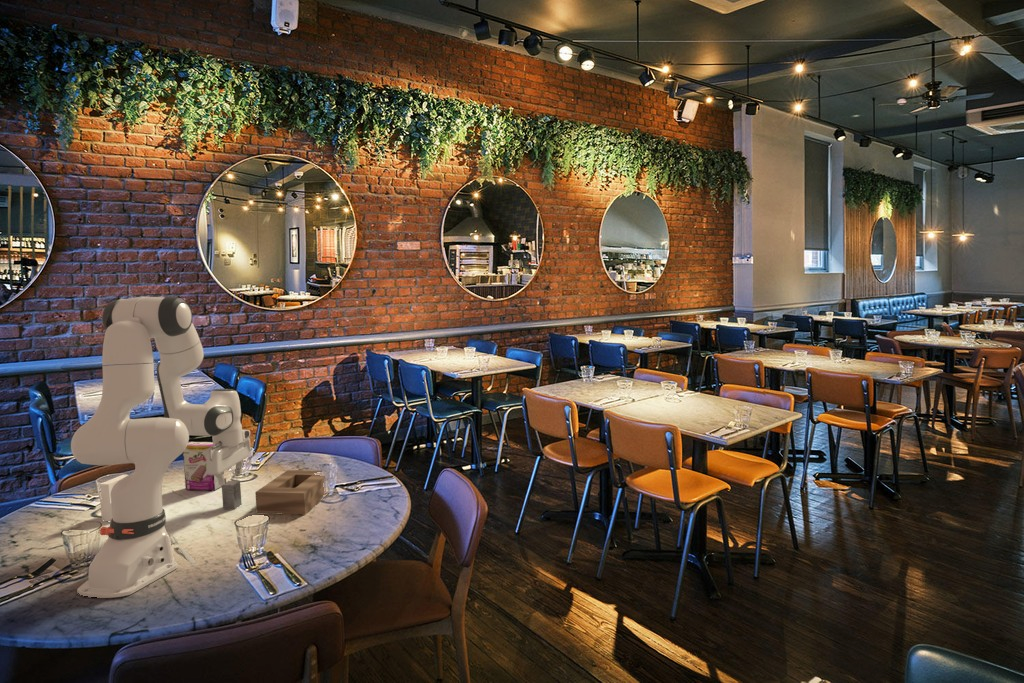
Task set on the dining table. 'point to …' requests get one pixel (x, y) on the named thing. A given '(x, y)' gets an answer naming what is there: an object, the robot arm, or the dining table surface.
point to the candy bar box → (198, 467)
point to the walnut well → (291, 493)
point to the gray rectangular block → (231, 495)
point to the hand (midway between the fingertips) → (230, 479)
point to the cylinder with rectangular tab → (108, 497)
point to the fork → (183, 551)
